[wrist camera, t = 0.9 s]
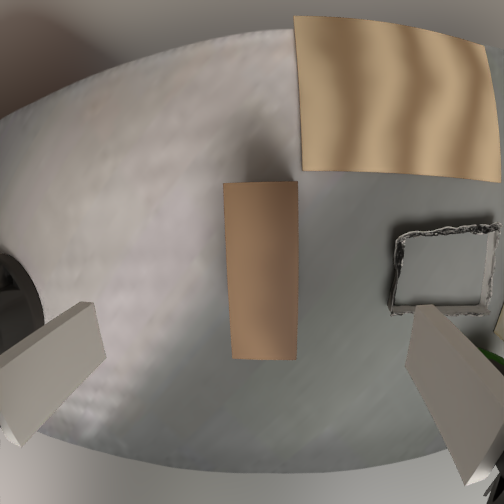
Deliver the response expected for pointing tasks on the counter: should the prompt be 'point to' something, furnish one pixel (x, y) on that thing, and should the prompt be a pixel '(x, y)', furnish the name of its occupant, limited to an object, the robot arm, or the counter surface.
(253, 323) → the walnut slab
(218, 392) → the counter surface
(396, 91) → the light wood board
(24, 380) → the robot arm
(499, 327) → the coffeecake box
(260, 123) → the counter surface
